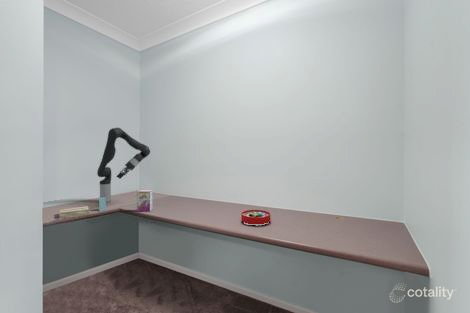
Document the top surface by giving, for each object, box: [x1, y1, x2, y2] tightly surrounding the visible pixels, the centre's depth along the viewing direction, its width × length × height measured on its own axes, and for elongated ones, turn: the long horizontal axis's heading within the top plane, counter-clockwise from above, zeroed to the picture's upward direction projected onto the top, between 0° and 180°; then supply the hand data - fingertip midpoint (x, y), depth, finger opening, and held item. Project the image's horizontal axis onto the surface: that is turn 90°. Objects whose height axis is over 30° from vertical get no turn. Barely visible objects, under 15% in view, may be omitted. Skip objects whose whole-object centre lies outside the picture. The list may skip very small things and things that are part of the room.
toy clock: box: [240, 209, 271, 224], centre depth 159 cm, size 20×6×20 cm
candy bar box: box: [136, 189, 153, 212], centre depth 188 cm, size 11×5×16 cm, turn 84°
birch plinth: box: [59, 205, 90, 219], centre depth 177 cm, size 14×18×4 cm
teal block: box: [98, 197, 107, 212], centre depth 191 cm, size 4×4×10 cm
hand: (118, 177), depth 197 cm, fingers open, 8 cm apart
